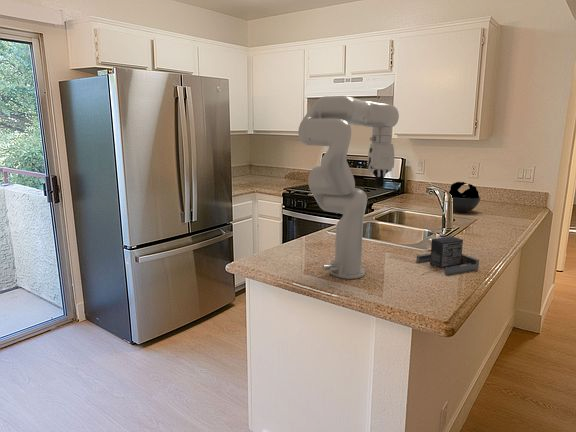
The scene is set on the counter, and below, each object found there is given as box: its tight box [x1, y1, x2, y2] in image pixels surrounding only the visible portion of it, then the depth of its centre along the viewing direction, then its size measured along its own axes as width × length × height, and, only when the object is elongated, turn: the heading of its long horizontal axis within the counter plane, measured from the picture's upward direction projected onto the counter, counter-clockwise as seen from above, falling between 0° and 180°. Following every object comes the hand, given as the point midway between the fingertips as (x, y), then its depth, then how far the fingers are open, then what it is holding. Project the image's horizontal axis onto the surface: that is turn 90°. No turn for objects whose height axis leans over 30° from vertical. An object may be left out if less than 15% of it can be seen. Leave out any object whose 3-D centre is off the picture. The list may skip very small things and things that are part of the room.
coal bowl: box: [448, 181, 481, 213], centre depth 266 cm, size 20×20×19 cm
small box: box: [429, 236, 464, 270], centre depth 165 cm, size 11×6×10 cm, turn 114°
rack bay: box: [415, 252, 480, 276], centre depth 165 cm, size 15×17×4 cm
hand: (379, 186), depth 170 cm, fingers closed
